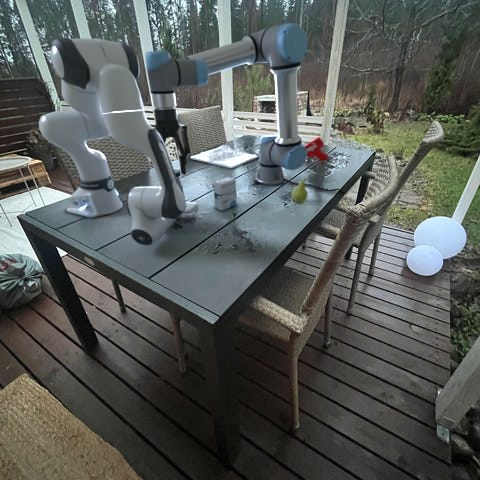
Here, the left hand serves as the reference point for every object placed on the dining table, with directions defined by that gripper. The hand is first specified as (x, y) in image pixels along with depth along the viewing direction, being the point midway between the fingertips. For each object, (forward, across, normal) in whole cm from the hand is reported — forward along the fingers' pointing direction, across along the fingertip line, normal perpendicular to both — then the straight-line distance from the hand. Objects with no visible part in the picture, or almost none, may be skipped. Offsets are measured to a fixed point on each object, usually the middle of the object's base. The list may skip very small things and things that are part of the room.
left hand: (178, 199), depth 109 cm
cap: (-1, 0, -12) cm, 12 cm away
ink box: (+11, -16, +7) cm, 21 cm away
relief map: (+81, +3, +7) cm, 82 cm away
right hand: (-1, 0, -10) cm, 10 cm away
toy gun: (+84, -52, +7) cm, 100 cm away
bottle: (-1, 0, +7) cm, 7 cm away
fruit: (+22, -48, +7) cm, 53 cm away
